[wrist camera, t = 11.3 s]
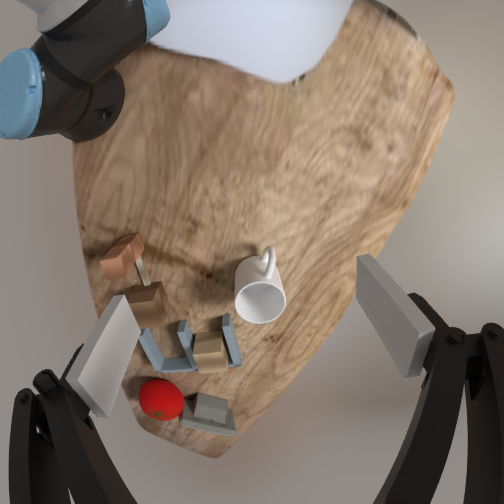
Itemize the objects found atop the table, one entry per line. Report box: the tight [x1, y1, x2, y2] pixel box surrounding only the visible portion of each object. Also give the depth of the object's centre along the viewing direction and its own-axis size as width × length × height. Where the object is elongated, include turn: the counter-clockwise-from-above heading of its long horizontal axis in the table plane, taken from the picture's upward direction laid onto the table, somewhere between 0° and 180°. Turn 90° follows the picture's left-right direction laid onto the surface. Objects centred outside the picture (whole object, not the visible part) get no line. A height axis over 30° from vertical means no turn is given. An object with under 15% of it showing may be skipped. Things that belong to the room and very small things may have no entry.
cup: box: [235, 246, 286, 324], centre depth 48 cm, size 8×12×10 cm
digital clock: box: [179, 393, 237, 436], centre depth 65 cm, size 16×9×11 cm, turn 54°
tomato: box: [139, 379, 184, 421], centre depth 62 cm, size 11×12×10 cm
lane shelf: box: [138, 314, 241, 373], centre depth 58 cm, size 12×20×4 cm, turn 100°
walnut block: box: [100, 233, 170, 329], centre depth 47 cm, size 17×6×11 cm, turn 10°
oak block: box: [193, 330, 228, 373], centre depth 57 cm, size 6×6×7 cm
